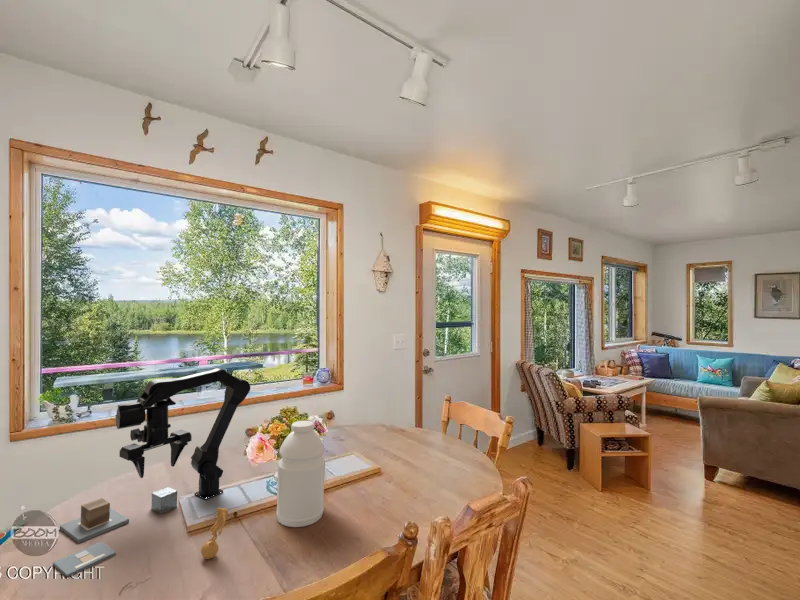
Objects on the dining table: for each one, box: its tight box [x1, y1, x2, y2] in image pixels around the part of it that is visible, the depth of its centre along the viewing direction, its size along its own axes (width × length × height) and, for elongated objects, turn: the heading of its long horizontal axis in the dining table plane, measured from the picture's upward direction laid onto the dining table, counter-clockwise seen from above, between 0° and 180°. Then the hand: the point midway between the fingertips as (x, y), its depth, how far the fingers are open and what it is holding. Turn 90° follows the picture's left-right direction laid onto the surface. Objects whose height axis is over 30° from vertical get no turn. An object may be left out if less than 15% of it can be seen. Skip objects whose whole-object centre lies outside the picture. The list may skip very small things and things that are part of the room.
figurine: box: [200, 507, 229, 560], centre depth 101 cm, size 8×6×12 cm
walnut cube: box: [80, 497, 111, 528], centre depth 113 cm, size 5×5×5 cm
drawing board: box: [52, 541, 117, 578], centre depth 98 cm, size 8×10×1 cm
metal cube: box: [150, 486, 178, 514], centre depth 123 cm, size 5×5×5 cm
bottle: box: [275, 420, 326, 528], centre depth 121 cm, size 14×14×28 cm
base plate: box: [59, 507, 130, 544], centre depth 113 cm, size 12×12×1 cm
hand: (157, 471), depth 122 cm, fingers open, 9 cm apart
